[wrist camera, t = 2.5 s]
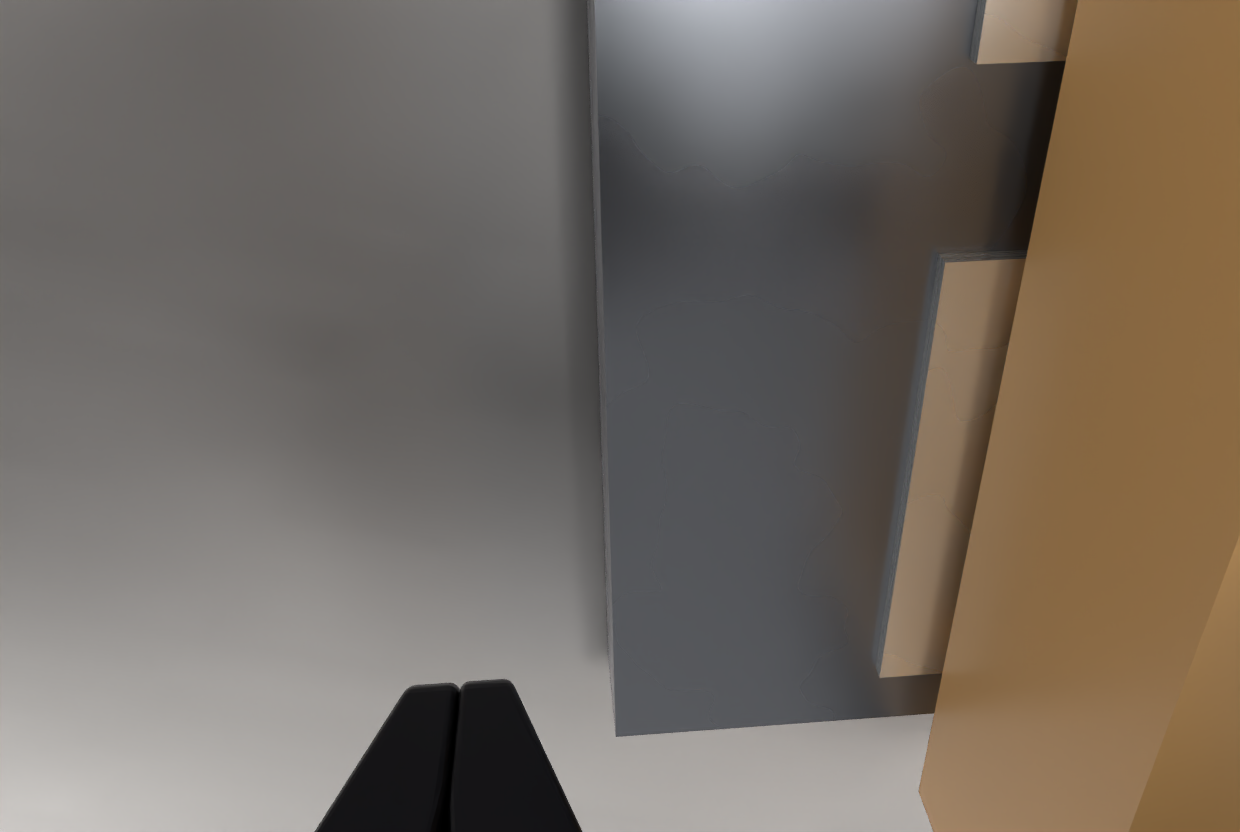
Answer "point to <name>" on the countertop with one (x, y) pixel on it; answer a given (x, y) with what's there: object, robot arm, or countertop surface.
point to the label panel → (803, 337)
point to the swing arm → (1112, 462)
